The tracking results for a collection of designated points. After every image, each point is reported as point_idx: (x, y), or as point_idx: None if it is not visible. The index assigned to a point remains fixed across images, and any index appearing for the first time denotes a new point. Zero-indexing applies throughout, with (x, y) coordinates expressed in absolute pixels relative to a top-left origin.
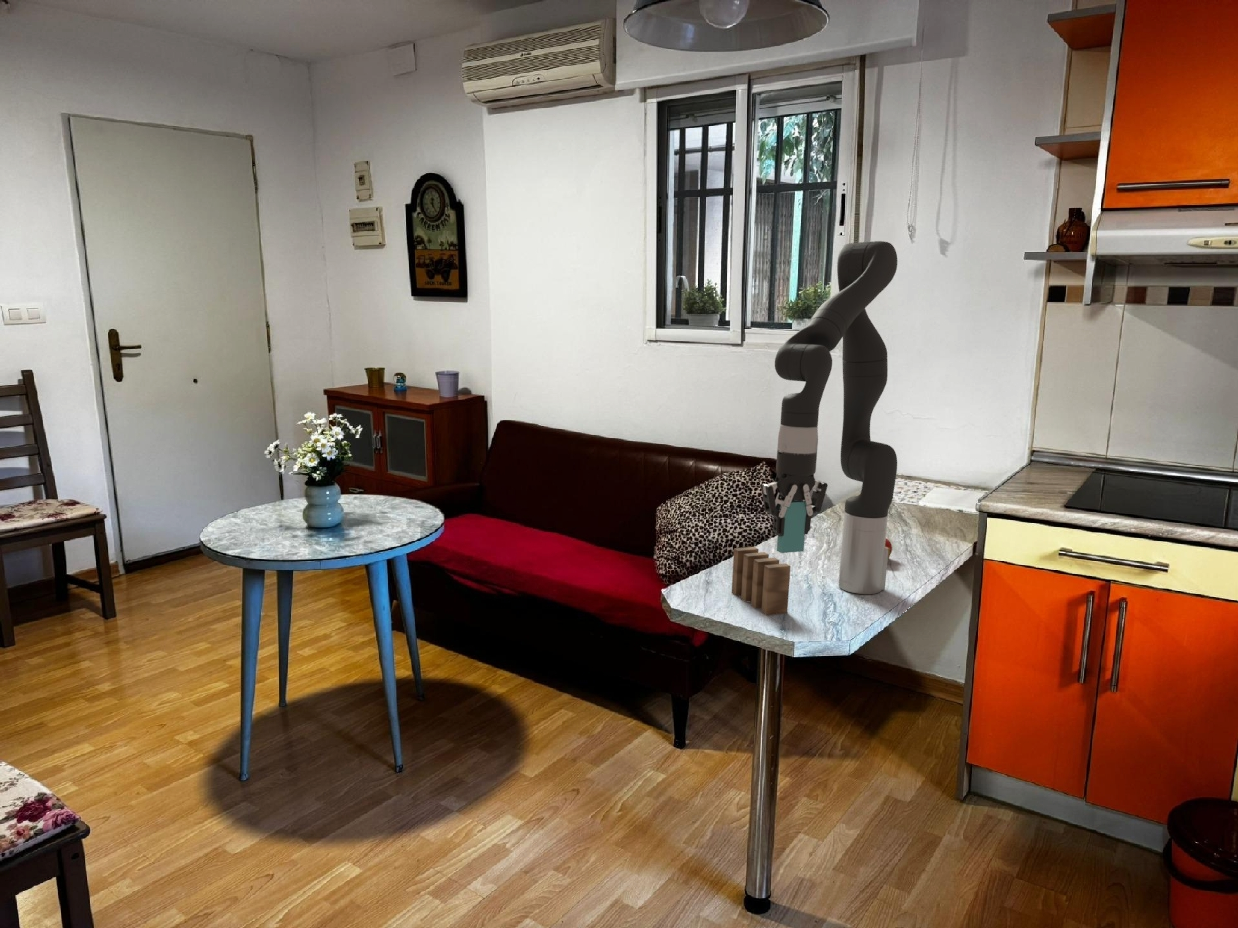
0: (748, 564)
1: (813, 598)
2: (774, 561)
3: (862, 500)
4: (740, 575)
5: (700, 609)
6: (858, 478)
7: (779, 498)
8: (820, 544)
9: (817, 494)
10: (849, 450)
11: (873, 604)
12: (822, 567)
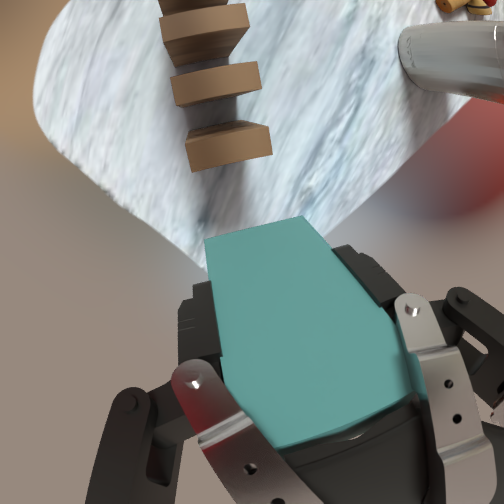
0: (169, 47)
1: (333, 69)
2: (242, 91)
3: None
4: (175, 12)
5: (70, 119)
6: None
7: (239, 470)
8: None
9: (490, 387)
10: None
11: (409, 128)
12: None
